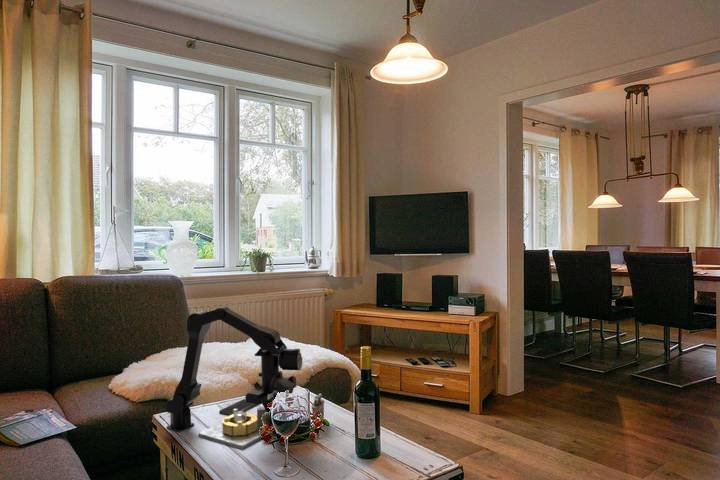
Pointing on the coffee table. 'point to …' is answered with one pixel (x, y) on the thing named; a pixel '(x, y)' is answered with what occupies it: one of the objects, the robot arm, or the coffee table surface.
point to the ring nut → (243, 428)
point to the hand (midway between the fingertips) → (270, 416)
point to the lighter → (318, 405)
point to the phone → (239, 405)
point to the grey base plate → (235, 441)
